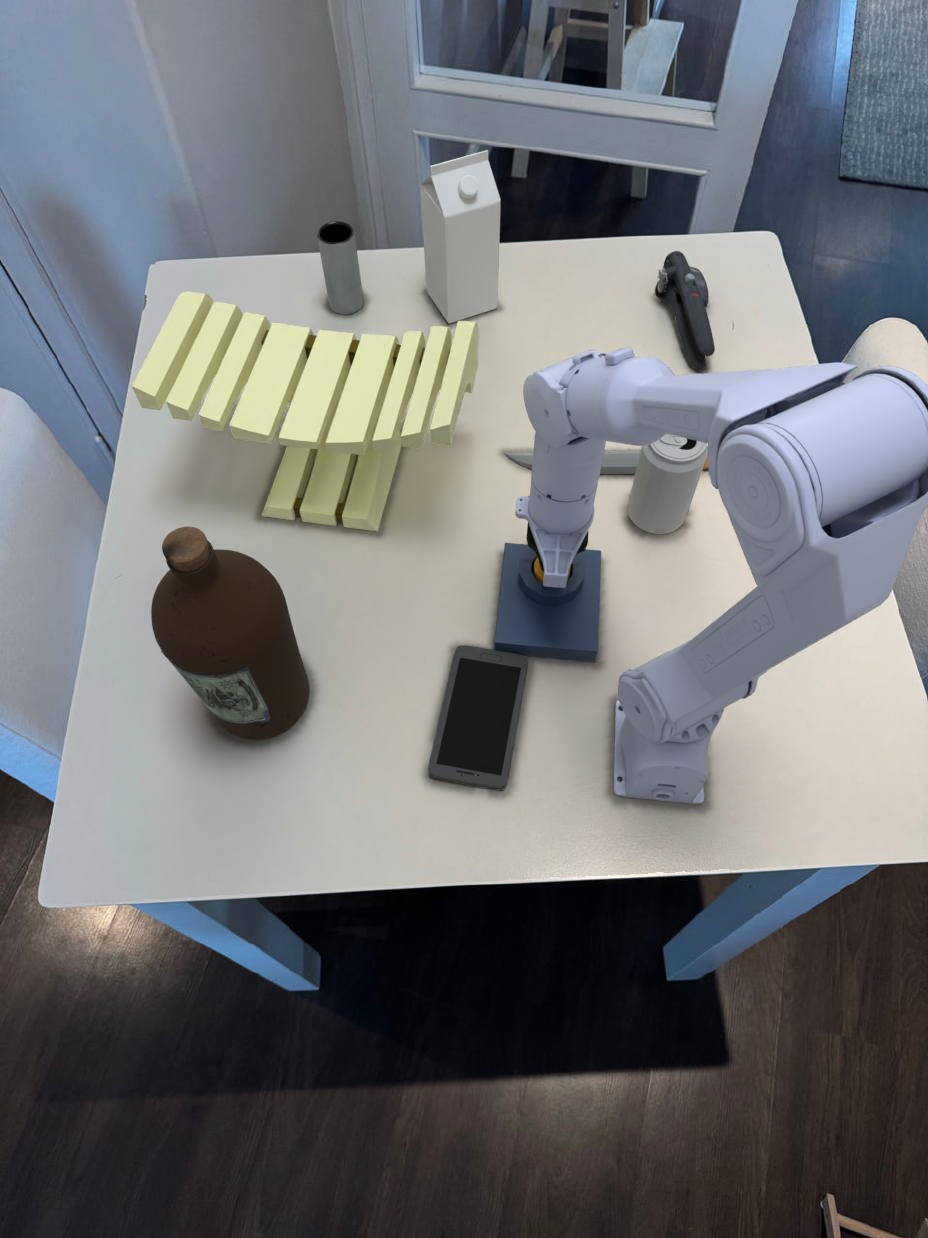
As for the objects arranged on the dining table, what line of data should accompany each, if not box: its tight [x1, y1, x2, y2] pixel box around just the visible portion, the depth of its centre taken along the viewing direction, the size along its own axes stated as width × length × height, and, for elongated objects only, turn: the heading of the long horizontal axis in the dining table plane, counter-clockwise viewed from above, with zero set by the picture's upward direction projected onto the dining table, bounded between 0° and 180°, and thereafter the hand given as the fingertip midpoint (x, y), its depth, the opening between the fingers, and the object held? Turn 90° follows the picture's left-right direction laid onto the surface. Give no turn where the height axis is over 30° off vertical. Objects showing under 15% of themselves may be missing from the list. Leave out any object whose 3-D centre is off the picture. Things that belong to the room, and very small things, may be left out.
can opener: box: [654, 250, 716, 370], centre depth 104 cm, size 18×7×6 cm, turn 3°
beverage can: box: [627, 433, 708, 535], centre depth 86 cm, size 6×6×12 cm
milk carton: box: [419, 149, 501, 324], centre depth 102 cm, size 7×7×19 cm
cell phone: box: [428, 644, 529, 791], centre depth 79 cm, size 7×14×1 cm, turn 169°
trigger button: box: [533, 558, 571, 584], centre depth 84 cm, size 4×4×2 cm
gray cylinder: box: [316, 220, 365, 315], centre depth 105 cm, size 4×4×10 cm
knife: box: [504, 449, 709, 475], centre depth 95 cm, size 30×1×5 cm
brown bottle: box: [150, 526, 310, 740], centre depth 70 cm, size 11×11×25 cm
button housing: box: [493, 542, 602, 663], centre depth 84 cm, size 12×10×4 cm
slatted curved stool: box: [131, 291, 479, 533], centre depth 88 cm, size 30×16×18 cm, turn 80°
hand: (552, 566), depth 83 cm, fingers closed, pressing on trigger button
